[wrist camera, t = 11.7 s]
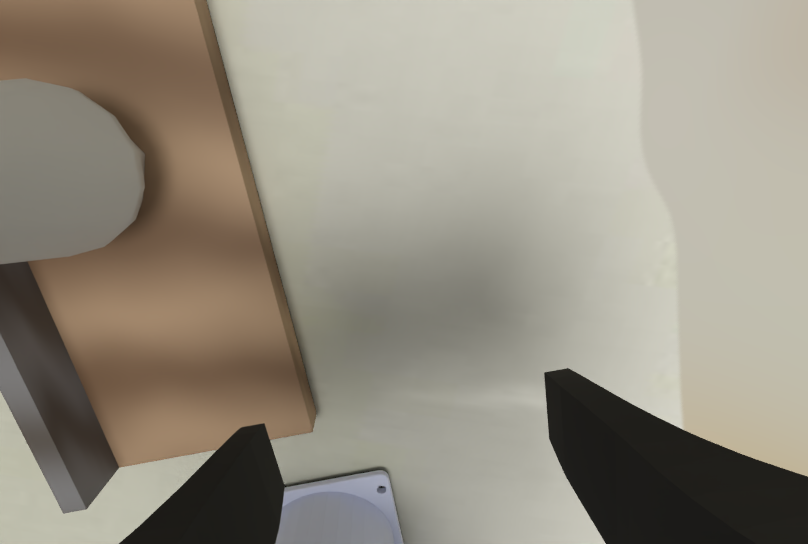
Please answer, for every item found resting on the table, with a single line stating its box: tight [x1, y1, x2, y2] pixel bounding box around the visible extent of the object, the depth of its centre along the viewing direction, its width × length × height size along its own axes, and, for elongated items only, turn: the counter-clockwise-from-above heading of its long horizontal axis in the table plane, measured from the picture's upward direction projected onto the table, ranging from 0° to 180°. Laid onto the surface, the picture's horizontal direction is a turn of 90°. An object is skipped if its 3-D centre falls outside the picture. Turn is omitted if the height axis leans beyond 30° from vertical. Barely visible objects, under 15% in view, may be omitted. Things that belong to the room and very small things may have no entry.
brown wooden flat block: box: [0, 0, 317, 514], centre depth 18 cm, size 20×11×4 cm, turn 10°
